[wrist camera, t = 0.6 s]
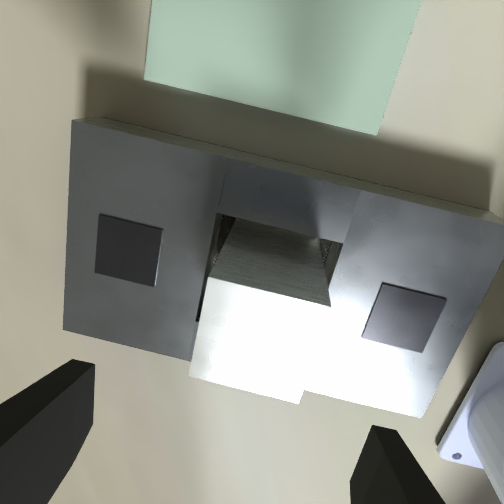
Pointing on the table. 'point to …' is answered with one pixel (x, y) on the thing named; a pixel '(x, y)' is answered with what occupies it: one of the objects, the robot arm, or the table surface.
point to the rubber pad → (285, 54)
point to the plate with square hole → (281, 216)
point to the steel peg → (262, 311)
